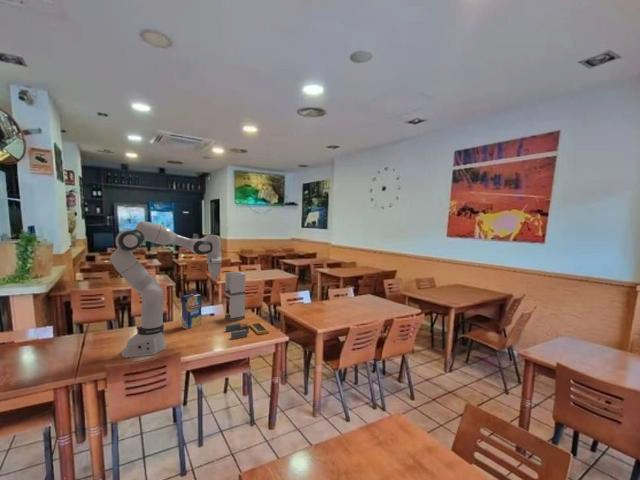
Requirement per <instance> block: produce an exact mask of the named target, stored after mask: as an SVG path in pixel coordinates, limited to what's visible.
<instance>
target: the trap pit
mask: <svg viewBox="0 0 640 480" xmlns="http://www.w3.org/2000/svg"><path fill="white" fill-rule="evenodd" d="M249 329H251V330H252V331H253V333H255V334H256V335H257V336H261V335H267V334H269V333H270V329H268V328H267V327H266V326H265V325H264V324H263V323H262V322H260V321H258V322H252V323H249Z"/></svg>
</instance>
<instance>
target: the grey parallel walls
mask: <svg viewBox="0 0 640 480" xmlns="http://www.w3.org/2000/svg"><path fill="white" fill-rule="evenodd" d="M239 325H241V322H237V323H231V324H225V332H226V333H227V332H230V338H231V340H233V339H239V338H245V337H248V333H247V330H240V331H239Z"/></svg>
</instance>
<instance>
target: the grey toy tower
mask: <svg viewBox="0 0 640 480" xmlns="http://www.w3.org/2000/svg"><path fill="white" fill-rule="evenodd" d="M224 279H225V281H224V282H225V284H224V285H225V286H224V287H225V289H224V291H225V293H224V294H225V296H226V297H228V298H229V309H230V310H229V311H230V312H229V313H228V314H225V315H224V318H226V319H227V320H228V319H229V320H228V321H230V322H234V321H238V320H245V317H246V273H244V272H241V271H233V272H225V278H224Z"/></svg>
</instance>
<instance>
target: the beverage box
mask: <svg viewBox="0 0 640 480" xmlns="http://www.w3.org/2000/svg"><path fill="white" fill-rule="evenodd" d="M198 326H202V294H199V293H191V294H186V295H183V296H181V328H184V329H187V330H190V329H192V328H196V327H198Z"/></svg>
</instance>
